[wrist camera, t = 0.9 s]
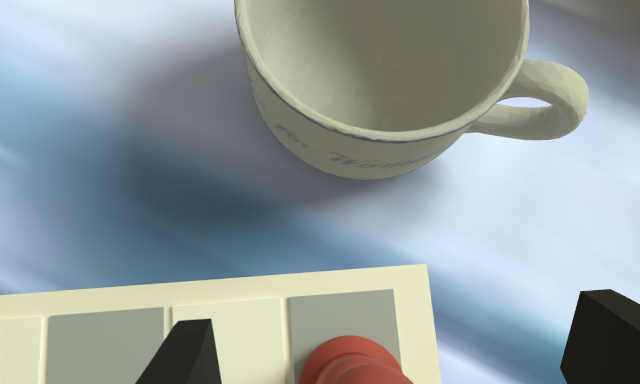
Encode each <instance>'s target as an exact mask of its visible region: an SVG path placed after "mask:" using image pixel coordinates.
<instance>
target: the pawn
mask: <svg viewBox="0 0 640 384" xmlns="http://www.w3.org/2000/svg"><path fill="white" fill-rule="evenodd" d="M298 384H414V383H413V382H412V381H411V380H410V379H409V378H408V377H406V376H405V375H404V374H403V372H402V369H401V367H400V365H399V364H398V362H397V361H396V359H395V358H394V357H393V355H392V354H391V353H390V352H389V351H388V350H386V349H385V348H384V347H383V346H381V345H379V344H378V343H376V342H374V341H372V340H369V339H367V338H364V337H360V336H354V335H345V336H339V337H335V338H332V339H330V340H328V341H326V342H324V343H323V344H321V345H320V346H319V347H317V348H316V349H315V350H314V351H313V352H312V353H311V355H310V356H309V357H308V359H307V360H306V362H305V364H304V366H303V368H302V371H301V374H300V378H299V383H298Z"/></svg>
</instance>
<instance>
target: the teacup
mask: <svg viewBox="0 0 640 384" xmlns="http://www.w3.org/2000/svg"><path fill="white" fill-rule="evenodd" d="M234 5H235V18H236V24H237V29H238V33H239V37H240V40H241V43H242V46H243V48H244V55H245V61H246V67H247V72H248V76H249V81H250V85H251V89H252V92H253V95H254V99H255V102H256V104H257V107H258V109H259V111H260V113H261V115H262V117H263V119H264V121H265V123H266V124H267V126H268V127H269V129H270V130H271V131H272V133H273V134H274V135H275V137H276V138H277V139H278V140H279V141H280V142H281V143H282V144H283V145H284V146H285V147H286V148H287V149H288V150H289V151H290V152H291V153H293V154H294V155H295V156H297V157H298V158H299V159H301V160H302V161H304V162H305V163H307V164H309V165H311V166H313V167H315V168H317V169H319V170H321V171H324V172H326V173H329V174H332V175H336V176H340V177H343V178H350V179H359V180H375V179H385V178H390V177H395V176H399V175H402V174H405V173H408V172H410V171H413V170H415V169H417V168H419V167H421V166H424V165H425V164H427V163H428V162H430V161H431V160H433V159H435V158H436V157H438V156H439V155H440V154H441V153H443V152H444V151H445V150H446V149H448V148H449V147H450V146H451V145H452V144H453V143H454V142H455V141H456V140H457V139H458V138H459V137H460V136H461V135H462V134H463V133H475V132H478V133H483V134H489V135H494V136H501V137H508V138H515V139H523V140H550V139H556V138H560V137H562V136H565V135H567V134H569V133H570V132H572V131H574V130H575V129H576V128H577V127H578V125H579V124H580V123H581V121H582V120H583V118H584V116H585V114H586V111H587V106H588V101H589V90H588V87H587V84H586V83H585V81H584V80H583V78H582V77H581V76H580V75H579V74H577V73H576V72H574V71H573V70H572V69H570V68H568V67H566V66H563V65H561V64H558V63H555V62H550V61H543V60H531V59H524V57H525V54H526V50H527V45H528V39H529V30H530V25H529V4H528V0H234ZM513 97H531V98H536V99H540V100H543V101H545V102H548V103H550V104H551V105H553V106H549V107H539V108H527V107H512V106H505V105H499V104H496V103H497V102H499V101H501V100H504V99H508V98H513Z"/></svg>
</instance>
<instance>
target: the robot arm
mask: <svg viewBox="0 0 640 384" xmlns="http://www.w3.org/2000/svg"><path fill="white" fill-rule="evenodd" d="M560 369H561V371H562V373H563V375H564V378H565V380H566V382H567V384H640V304H638V303H637V302H635V301H633V300H631V299H629V298H627V297H625V296H623V295H621V294H619V293H617V292H615V291H613V290H611V289H606V290H592V291H580V295H579V299H578V303H577V306H576V310H575V314H574V317H573V321H572V325H571V329H570V332H569V336H568V340H567V343H566V347H565V351H564V355H563V358H562V362H561V366H560ZM135 384H222V381H221V375H220V369H219V363H218V357H217V350H216V344H215V338H214V332H213V326H212V320H211V318H209V319H195V320H182V321H178V322H177V323H176V324H175V325H174V326H173V327H172V329H171V331H170V332H169V334H168V335H167V337H166V338H165V340H164V341H163V343H162V344H161V346H160V347H159V349H158V351H157V352H156V354H155V355H154V357H153V358H152V359H151V361H150V362H149V364H148V365H147V367H146V368H145V370H144V371H143V373H142V374H141V376H140V377H139V378H138V380H137V381H136V383H135Z"/></svg>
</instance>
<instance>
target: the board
mask: <svg viewBox="0 0 640 384" xmlns="http://www.w3.org/2000/svg"><path fill="white" fill-rule="evenodd" d="M209 318H211V320H212V326H213V332H214V338H215V344H216V350H217V357H218V363H219V369H220V375H221V381H222V384H298V383H299V378H300V374H301V371H302V368H303V366H304V364H305V362H306V360H307V359H308V357H309V356H310V355H311V353H312V352H313V351H314V350H315V349H316V348H317V347H319V346H320V345H321V344H323V343H324V342H326V341H328V340H330V339H332V338H335V337H339V336H345V335H354V336H360V337H364V338H367V339H369V340H372V341H374V342H376V343H378V344H379V345H381V346H383V347H384V348H385V349H386V350H388V351H389V352H390V353H391V354H392V355H393V357H394V358H395V359H396V361H397V362H398V364H399V365H400V367H401V369H402V372H403V374H404V375H405V376H406V377H408V378H409V379H410V380H411V381H412V382H413V383H414V384H441V376H440V368H439V360H438V352H437V343H436V335H435V327H434V319H433V311H432V303H431V295H430V287H429V279H428V271H427V264H418V265H404V266H391V267H377V268H364V269H350V270H337V271H323V272H310V273H296V274H283V275H269V276H256V277H242V278H229V279H215V280H202V281H189V282H175V283H162V284H148V285H135V286H121V287H108V288H94V289H81V290H67V291H54V292H40V293H27V294H13V295H0V384H135V383H136V381H137V380H138V378H139V377H140V376H141V374H142V373H143V371H144V370H145V368H146V367H147V365H148V364H149V362H150V361H151V359H152V358H153V357H154V355H155V354H156V352H157V351H158V349H159V347H160V346H161V344H162V343H163V341H164V340H165V338H166V337H167V335H168V334H169V332H170V331H171V329H172V327H173V326H174V325H175V324H176V323H177V322H178V321H182V320H195V319H209Z"/></svg>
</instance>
